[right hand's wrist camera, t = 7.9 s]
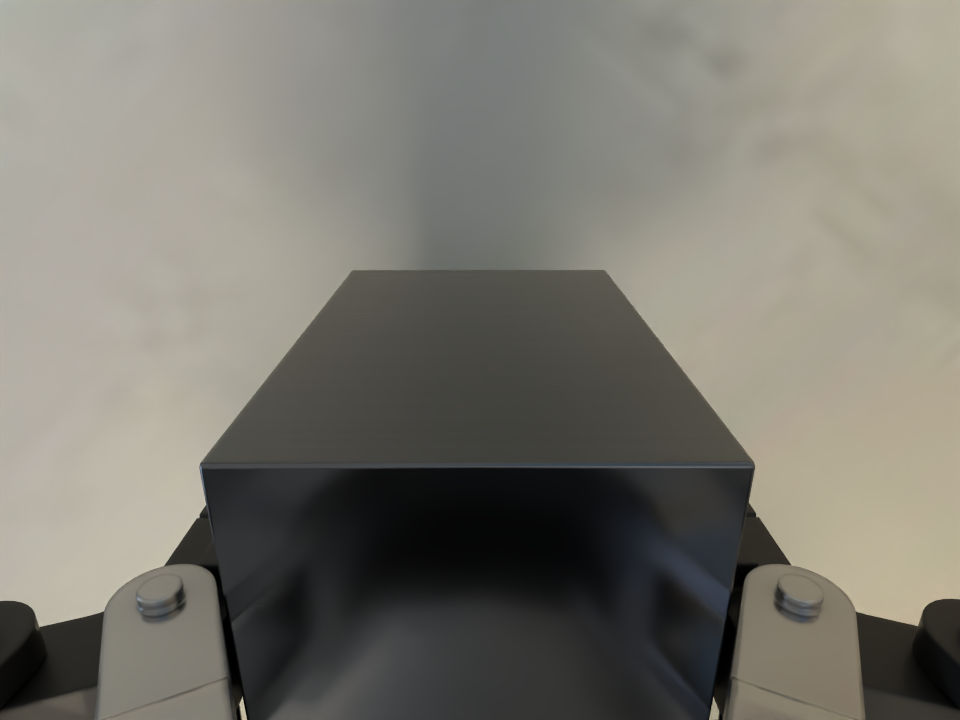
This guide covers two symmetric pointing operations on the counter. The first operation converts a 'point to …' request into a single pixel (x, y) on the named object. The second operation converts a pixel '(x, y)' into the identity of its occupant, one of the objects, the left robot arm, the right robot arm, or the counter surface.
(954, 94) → the counter surface
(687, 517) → the box
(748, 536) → the right robot arm
